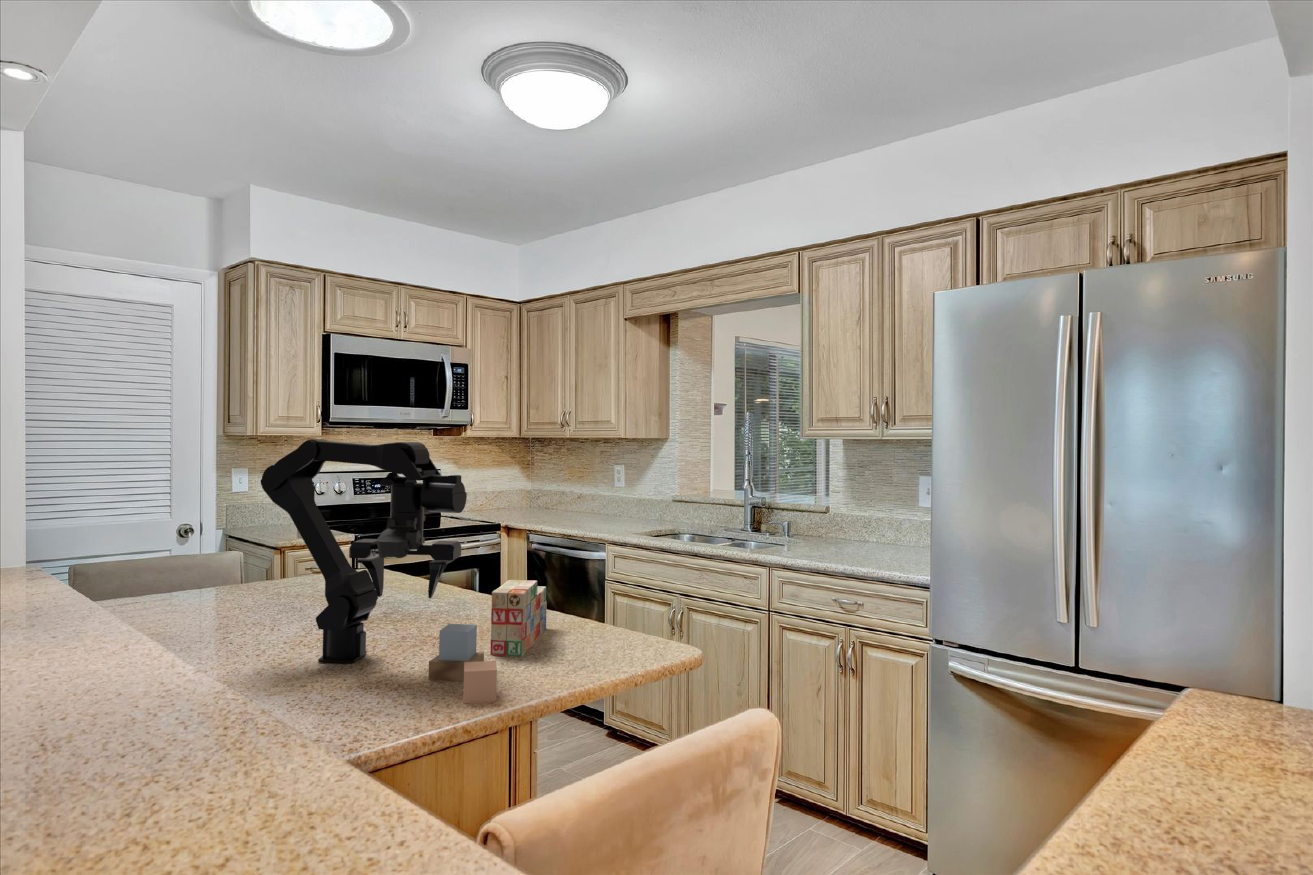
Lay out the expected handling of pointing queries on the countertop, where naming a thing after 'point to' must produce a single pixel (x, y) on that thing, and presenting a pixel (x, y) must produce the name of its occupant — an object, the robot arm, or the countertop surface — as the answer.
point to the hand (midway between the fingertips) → (405, 597)
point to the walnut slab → (450, 668)
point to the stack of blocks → (517, 617)
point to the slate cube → (457, 642)
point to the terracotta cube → (480, 681)
